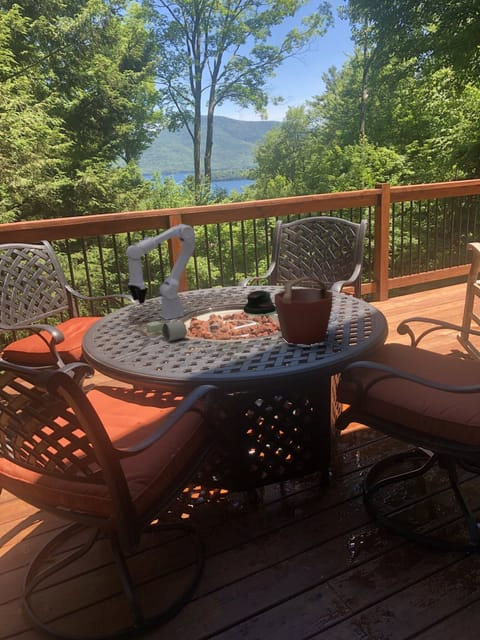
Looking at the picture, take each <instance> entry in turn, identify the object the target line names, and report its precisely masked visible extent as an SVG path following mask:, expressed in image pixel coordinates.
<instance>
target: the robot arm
mask: <svg viewBox="0 0 480 640" xmlns="http://www.w3.org/2000/svg"><path fill="white" fill-rule="evenodd" d="M195 237H196V232H195V230H194V228H193V227H192V226H191V225H188V224H184V223H179V224H177V225H174V226H173V227H171V228H169V229H167V230H166V231H163V232H162V233H160V234H158V235H157V236H155V237H150V236H148V237H146V236H145V237H144V238H143V239H142V240H141V241H139V242H135V243H134V244H133V245H129V246H128V247H127V248H126V251H125V254H126V256H127V260H128V263H127V264H128V272H129V282H128V283H127V288H128V290H129V291H130V294H131V297H132V300H133V301H138V304H140V305H141V304H145V302H146V297H147V291H148V287H146V284H145V282H144V277H143V276H144V275H143V267H142V266H143V265H142V256H143V255H145V254H148V253H150V252H152V251H154V250H155V249H156V248H157V245H159V244H161V243H163V242H165V241H168V240H170V239H172V238H174V239H179V240H180V243H181V245H182V248H181V250H180V252H179V254H178V257H177V259H176V260H175V263H174V265H173V267H172V269H171V271H170V273H169V275H168V277H166V278H165V280H164V282H163V283H162V284H161V285H160V286H159V289H158V290H159V293H160V294H161V297H160V298H161V312H162V314H160V315H159V316H160V318H162V319H164V320H171V319H172V320H173V319H176V318H181V317H185V315H184V304H183V299H182V297H180V296H178V293H179V292H178V291H179V288H180V280H181V278H182V276H183V274H184V272H185V270H186V267H187V266H188V263H189V261H190V259H191V257H192V255H193V252H194V250H195V248H196V238H195Z"/></svg>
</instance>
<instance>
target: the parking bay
mask: <svg viewBox="0 0 480 640" xmlns="http://www.w3.org/2000/svg"><path fill="white" fill-rule="evenodd" d="M137 330H138V332H140V333H141V334H142V335H144V336H145V337H147V338H151V337H155V336H159V335H163V334H162V331H158V332H153V333H148V332H147V330H144V329H143V328H142V327H137Z"/></svg>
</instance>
